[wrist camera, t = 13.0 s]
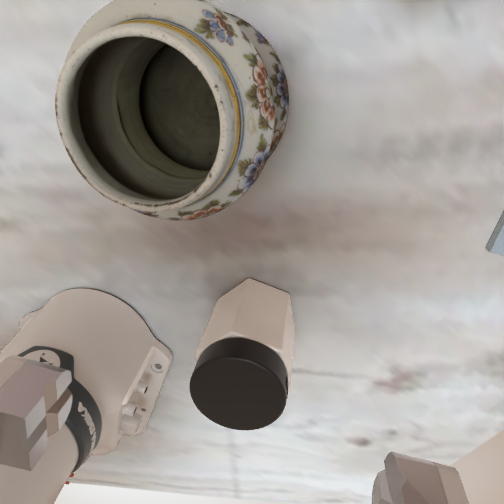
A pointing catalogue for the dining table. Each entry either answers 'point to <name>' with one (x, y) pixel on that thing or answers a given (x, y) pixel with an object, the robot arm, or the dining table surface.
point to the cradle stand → (497, 238)
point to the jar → (245, 357)
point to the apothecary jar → (170, 106)
